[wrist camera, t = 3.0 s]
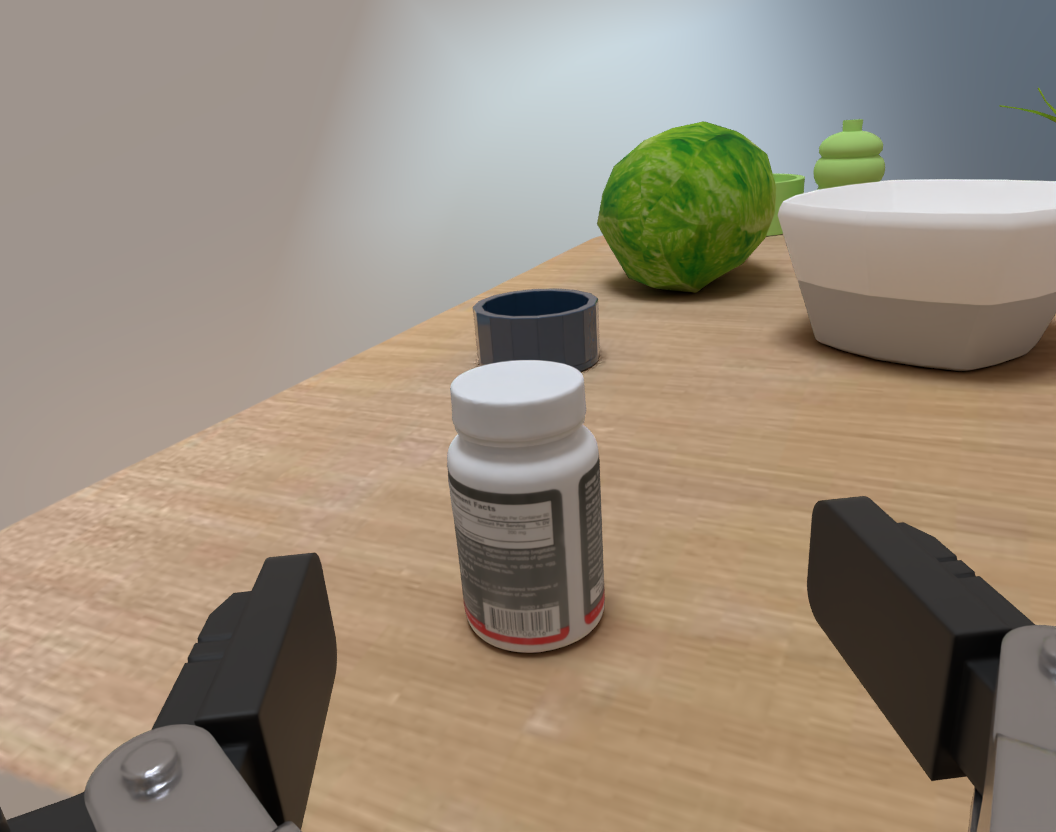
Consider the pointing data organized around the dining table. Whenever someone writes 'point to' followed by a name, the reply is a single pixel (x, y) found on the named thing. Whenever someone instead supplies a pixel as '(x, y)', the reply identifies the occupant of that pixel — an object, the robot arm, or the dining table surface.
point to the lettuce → (688, 206)
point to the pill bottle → (526, 505)
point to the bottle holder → (538, 327)
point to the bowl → (927, 268)
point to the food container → (835, 166)
